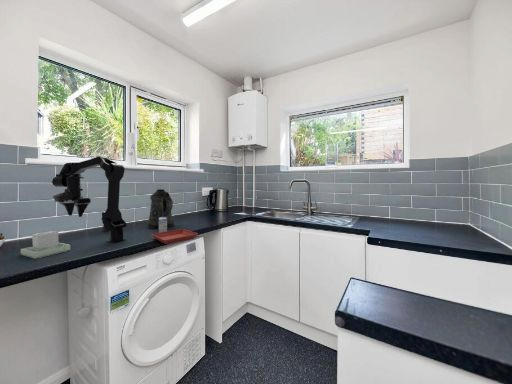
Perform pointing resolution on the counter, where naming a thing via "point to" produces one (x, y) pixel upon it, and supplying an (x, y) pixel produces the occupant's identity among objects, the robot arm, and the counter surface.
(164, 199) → the dark olive backpack
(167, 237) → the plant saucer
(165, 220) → the medicine box
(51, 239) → the aluminium block
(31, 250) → the tray
